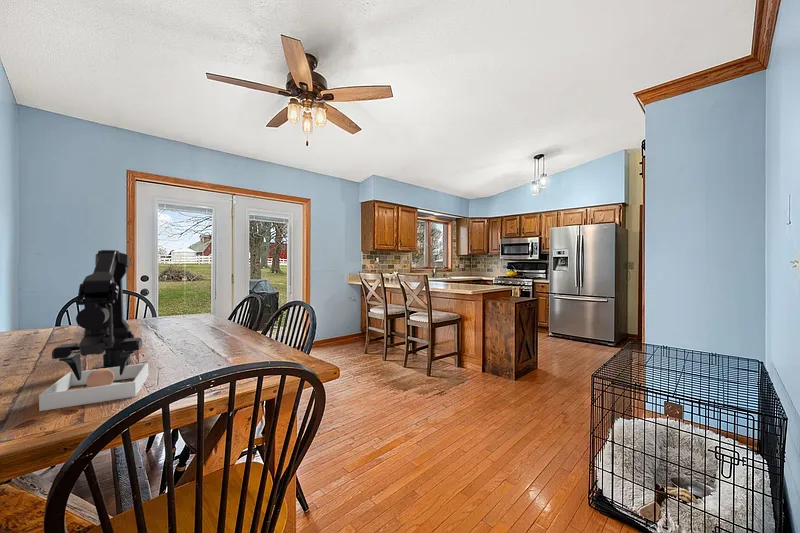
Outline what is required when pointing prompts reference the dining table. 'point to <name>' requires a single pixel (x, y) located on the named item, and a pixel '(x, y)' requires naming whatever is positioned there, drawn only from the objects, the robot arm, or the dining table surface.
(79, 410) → the dining table surface
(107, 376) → the ball
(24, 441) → the dining table surface
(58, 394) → the walled pen
